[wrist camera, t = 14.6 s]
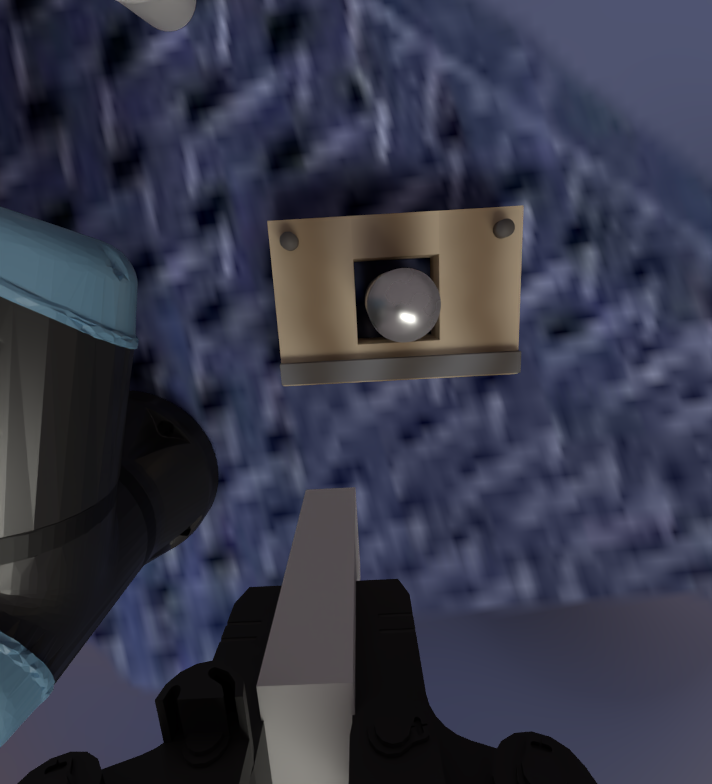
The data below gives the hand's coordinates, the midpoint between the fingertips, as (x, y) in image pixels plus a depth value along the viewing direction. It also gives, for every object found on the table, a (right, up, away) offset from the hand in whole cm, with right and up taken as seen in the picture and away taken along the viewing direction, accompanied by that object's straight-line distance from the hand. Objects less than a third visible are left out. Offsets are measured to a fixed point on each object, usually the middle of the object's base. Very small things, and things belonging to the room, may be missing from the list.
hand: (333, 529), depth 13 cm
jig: (+4, +12, +22) cm, 25 cm away
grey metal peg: (+4, +12, +22) cm, 25 cm away
